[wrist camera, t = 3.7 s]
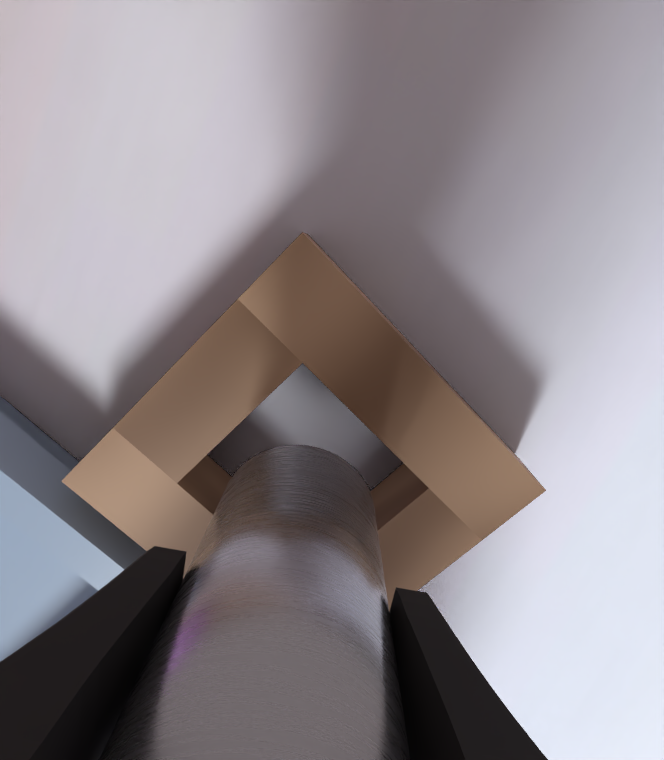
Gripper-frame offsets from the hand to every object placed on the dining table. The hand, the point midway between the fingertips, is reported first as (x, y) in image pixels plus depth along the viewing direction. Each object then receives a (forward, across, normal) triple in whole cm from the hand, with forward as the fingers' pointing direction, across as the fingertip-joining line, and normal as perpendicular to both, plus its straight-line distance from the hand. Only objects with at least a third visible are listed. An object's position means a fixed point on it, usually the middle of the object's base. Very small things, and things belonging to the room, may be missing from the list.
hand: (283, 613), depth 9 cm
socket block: (+8, 0, 0) cm, 8 cm away
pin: (+3, 0, 0) cm, 3 cm away
